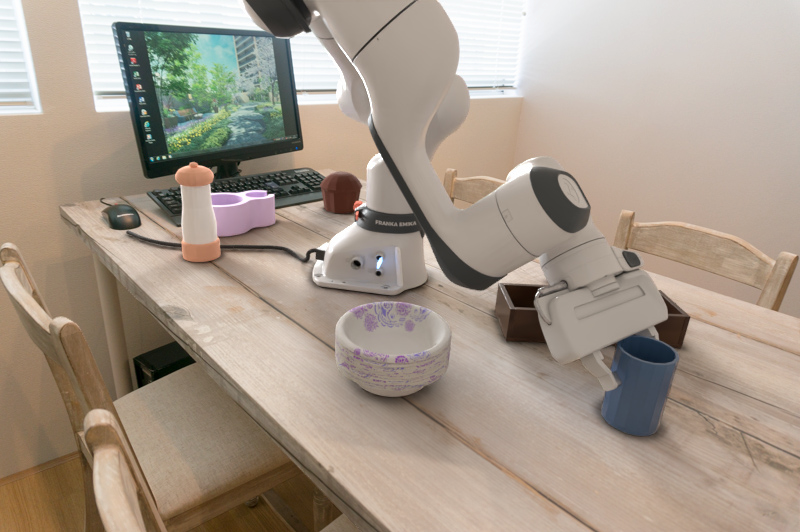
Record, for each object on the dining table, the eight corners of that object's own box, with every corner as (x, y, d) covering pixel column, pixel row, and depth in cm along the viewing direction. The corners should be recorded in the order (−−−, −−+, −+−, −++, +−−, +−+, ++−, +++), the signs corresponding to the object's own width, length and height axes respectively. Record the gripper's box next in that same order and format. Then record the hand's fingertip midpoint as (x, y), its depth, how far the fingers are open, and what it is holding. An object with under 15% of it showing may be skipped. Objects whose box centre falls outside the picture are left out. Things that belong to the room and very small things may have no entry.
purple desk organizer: (259, 213, 138) (258, 187, 135) (284, 226, 129) (283, 198, 127) (182, 226, 125) (179, 197, 122) (203, 240, 117) (201, 210, 114)
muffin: (343, 217, 138) (343, 179, 134) (311, 209, 144) (310, 172, 140) (369, 208, 148) (371, 172, 144) (339, 200, 153) (339, 166, 149)
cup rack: (505, 341, 83) (510, 309, 81) (494, 312, 92) (498, 282, 90) (681, 348, 84) (690, 316, 82) (653, 318, 93) (660, 289, 91)
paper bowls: (356, 423, 63) (358, 366, 60) (321, 357, 75) (321, 308, 72) (467, 398, 69) (474, 344, 66) (417, 340, 81) (421, 294, 78)
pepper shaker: (191, 264, 104) (181, 168, 97) (177, 253, 109) (167, 160, 102) (226, 257, 108) (219, 164, 101) (211, 247, 113) (204, 157, 106)
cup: (613, 435, 63) (631, 363, 59) (593, 400, 70) (608, 333, 66) (668, 437, 63) (690, 366, 60) (643, 402, 70) (662, 336, 66)
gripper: (547, 280, 59) (605, 397, 56) (647, 251, 71) (700, 347, 67) (512, 300, 64) (564, 410, 61) (610, 270, 76) (659, 360, 72)
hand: (636, 376), depth 64 cm, fingers open, 8 cm apart
